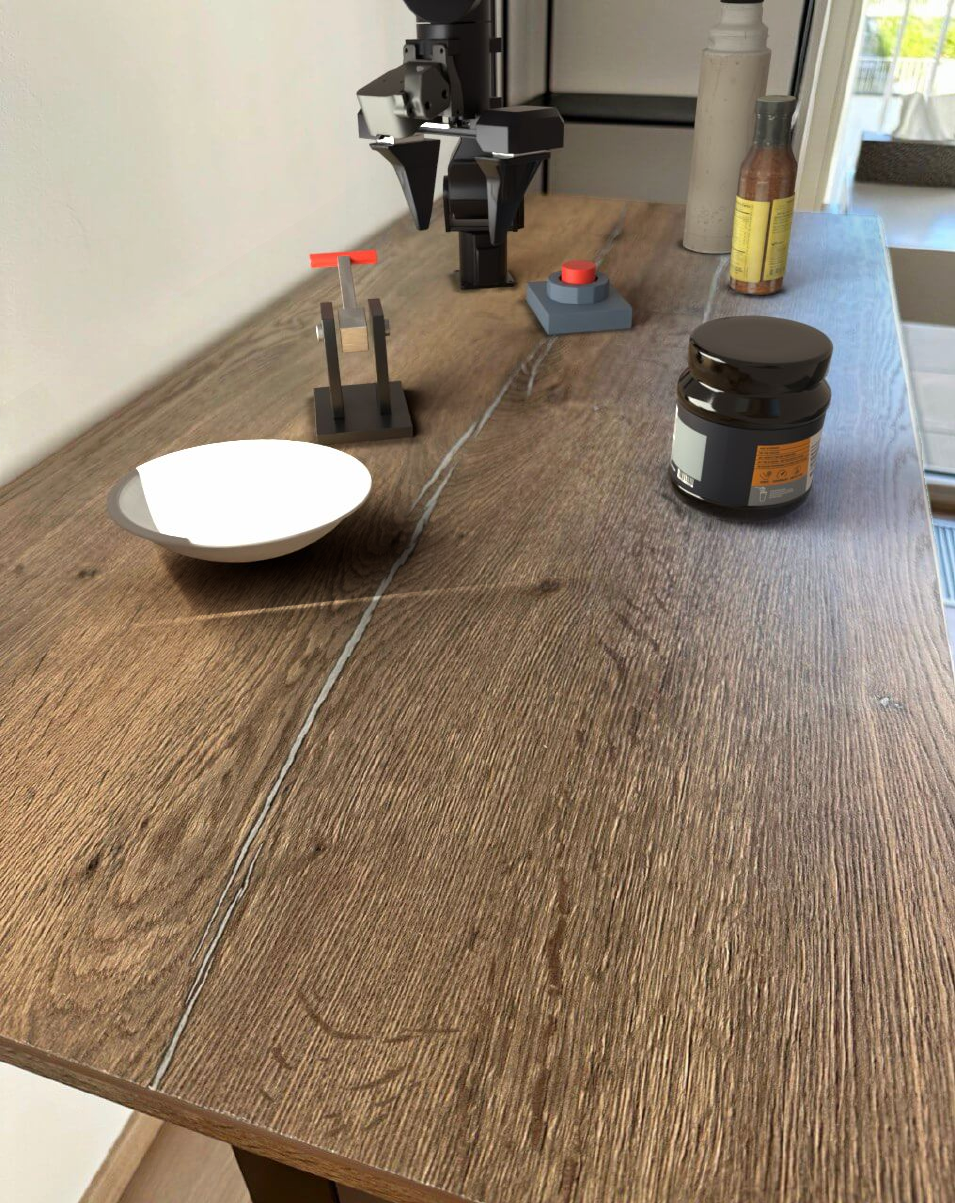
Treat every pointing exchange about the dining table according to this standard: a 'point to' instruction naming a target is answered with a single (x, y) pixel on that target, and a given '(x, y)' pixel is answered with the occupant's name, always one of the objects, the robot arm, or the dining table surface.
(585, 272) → the button
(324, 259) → the lever
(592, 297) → the button box
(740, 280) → the sauce bottle
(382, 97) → the robot arm
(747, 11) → the thermos bottle
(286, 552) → the dish
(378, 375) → the bracket
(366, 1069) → the dining table surface
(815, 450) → the supplement container
